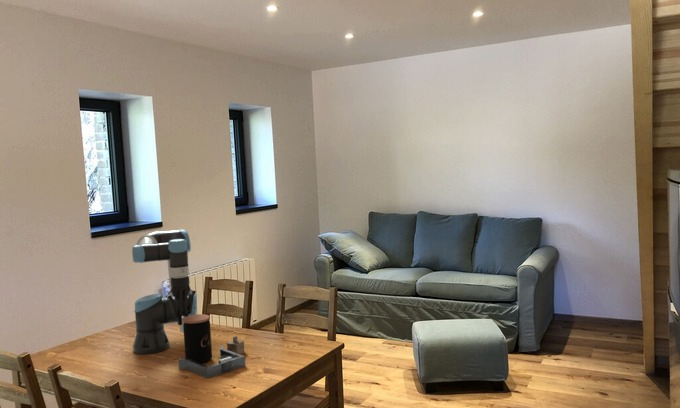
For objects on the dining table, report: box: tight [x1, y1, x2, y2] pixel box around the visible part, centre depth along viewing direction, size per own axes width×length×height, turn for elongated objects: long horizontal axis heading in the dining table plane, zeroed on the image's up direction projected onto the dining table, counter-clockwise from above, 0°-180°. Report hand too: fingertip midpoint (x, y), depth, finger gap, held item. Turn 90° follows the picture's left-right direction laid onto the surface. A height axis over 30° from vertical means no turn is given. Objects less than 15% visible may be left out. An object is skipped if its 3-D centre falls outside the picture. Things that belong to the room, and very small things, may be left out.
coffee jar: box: [183, 313, 213, 365], centre depth 231 cm, size 11×11×18 cm
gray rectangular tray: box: [177, 345, 246, 380], centre depth 223 cm, size 19×21×5 cm
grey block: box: [226, 335, 245, 355], centre depth 238 cm, size 5×5×7 cm
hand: (183, 331), depth 238 cm, fingers closed
